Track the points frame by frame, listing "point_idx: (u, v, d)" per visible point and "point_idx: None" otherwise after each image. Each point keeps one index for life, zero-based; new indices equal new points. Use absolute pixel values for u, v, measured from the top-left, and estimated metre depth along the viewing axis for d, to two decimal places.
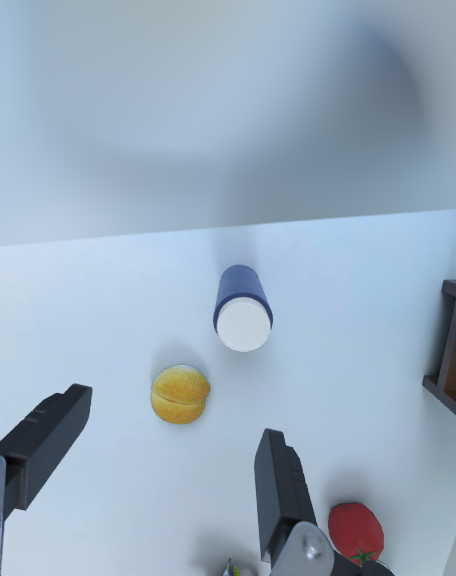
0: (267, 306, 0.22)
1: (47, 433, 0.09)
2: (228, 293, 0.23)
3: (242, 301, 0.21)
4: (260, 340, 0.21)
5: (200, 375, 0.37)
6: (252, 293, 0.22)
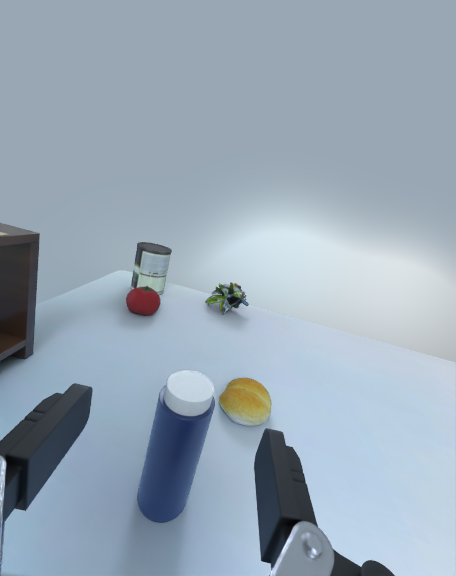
0: (161, 402, 0.23)
1: (47, 433, 0.09)
2: (194, 427, 0.22)
3: (186, 404, 0.22)
4: (179, 373, 0.25)
5: (226, 409, 0.40)
6: (171, 417, 0.22)
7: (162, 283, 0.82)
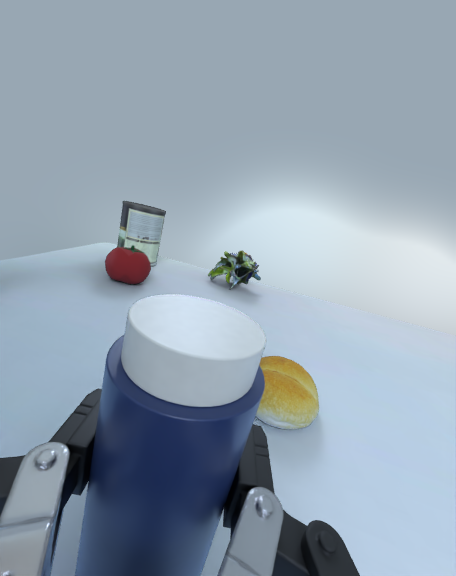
0: (111, 365, 0.07)
1: None
2: (213, 443, 0.07)
3: (186, 366, 0.06)
4: (168, 298, 0.09)
5: None
6: (135, 410, 0.06)
7: (154, 252, 0.66)
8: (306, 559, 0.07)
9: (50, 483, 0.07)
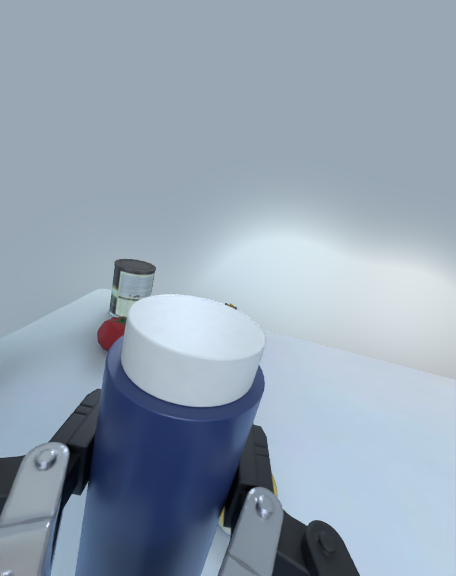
0: (110, 365, 0.07)
1: None
2: (213, 443, 0.07)
3: (186, 366, 0.06)
4: (167, 298, 0.09)
5: None
6: (135, 410, 0.06)
7: None
8: (306, 559, 0.07)
9: (50, 483, 0.07)
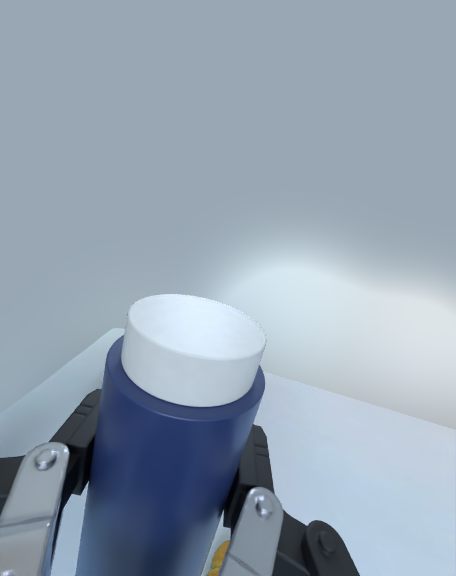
0: (111, 365, 0.07)
1: None
2: (213, 442, 0.07)
3: (186, 365, 0.06)
4: (168, 297, 0.09)
5: None
6: (136, 410, 0.06)
7: None
8: (305, 559, 0.07)
9: (50, 483, 0.07)
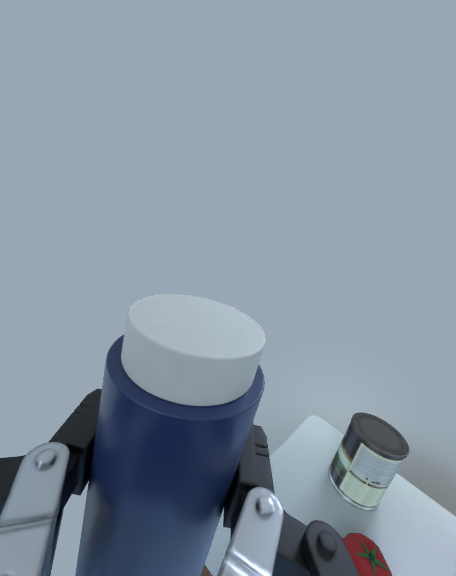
0: (110, 365, 0.07)
1: None
2: (213, 442, 0.07)
3: (186, 365, 0.06)
4: (167, 297, 0.09)
5: None
6: (136, 409, 0.06)
7: (382, 494, 0.50)
8: (306, 559, 0.07)
9: (50, 483, 0.07)
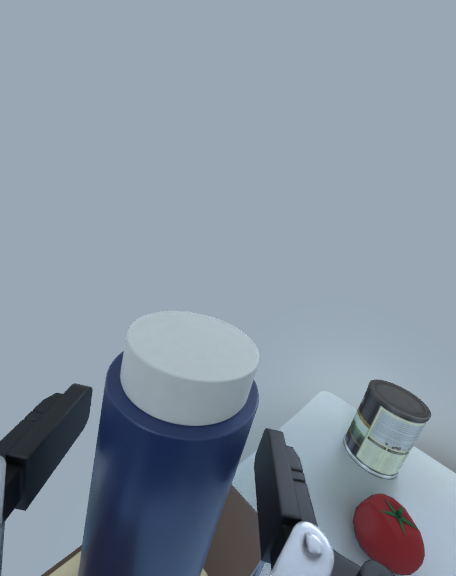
0: (110, 384, 0.08)
1: (47, 433, 0.09)
2: (208, 460, 0.07)
3: (181, 388, 0.07)
4: (165, 315, 0.10)
5: None
6: (134, 430, 0.07)
7: (402, 462, 0.48)
8: None
9: None
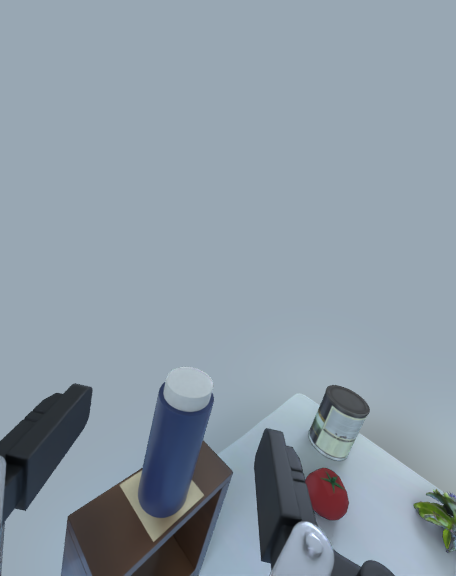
0: (161, 398, 0.23)
1: (47, 433, 0.09)
2: (193, 422, 0.22)
3: (185, 400, 0.22)
4: (178, 370, 0.25)
5: None
6: (170, 412, 0.22)
7: (349, 448, 0.63)
8: None
9: None
